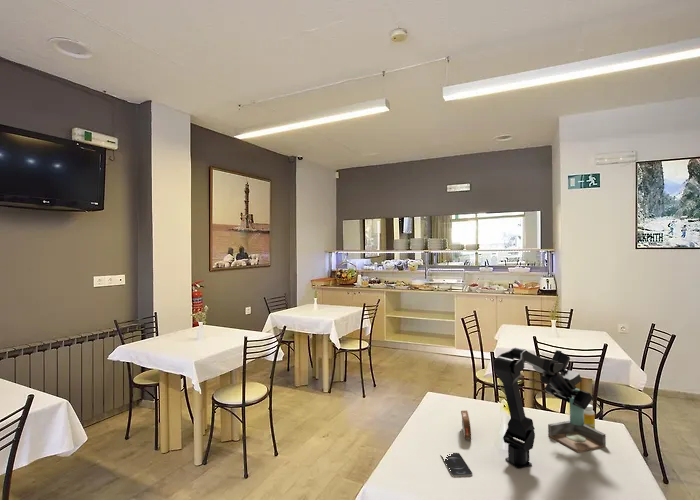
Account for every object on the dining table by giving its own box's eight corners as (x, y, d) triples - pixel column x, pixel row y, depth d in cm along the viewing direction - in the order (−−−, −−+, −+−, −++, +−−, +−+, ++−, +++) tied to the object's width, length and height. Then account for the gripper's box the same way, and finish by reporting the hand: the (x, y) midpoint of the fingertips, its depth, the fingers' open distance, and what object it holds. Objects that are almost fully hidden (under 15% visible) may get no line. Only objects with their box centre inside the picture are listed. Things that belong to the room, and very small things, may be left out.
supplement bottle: (577, 425, 169) (577, 403, 169) (586, 424, 171) (586, 402, 171) (588, 431, 164) (588, 408, 164) (598, 429, 165) (597, 406, 166)
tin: (471, 443, 154) (471, 422, 154) (463, 442, 155) (463, 421, 155) (468, 426, 169) (467, 407, 169) (460, 426, 170) (460, 406, 170)
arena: (577, 452, 146) (577, 439, 146) (548, 436, 160) (548, 424, 160) (605, 446, 151) (605, 434, 151) (575, 431, 164) (574, 419, 164)
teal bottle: (577, 426, 153) (576, 391, 153) (566, 421, 158) (566, 387, 158) (587, 424, 154) (586, 390, 154) (576, 419, 159) (576, 386, 159)
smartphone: (459, 452, 147) (473, 474, 132) (459, 454, 147) (473, 477, 132) (439, 453, 146) (451, 475, 131) (439, 455, 146) (451, 477, 131)
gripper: (588, 372, 146) (611, 398, 149) (550, 359, 164) (571, 383, 167) (572, 395, 144) (596, 421, 147) (534, 380, 162) (556, 403, 165)
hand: (579, 405), depth 156 cm, fingers closed on teal bottle, 5 cm apart
